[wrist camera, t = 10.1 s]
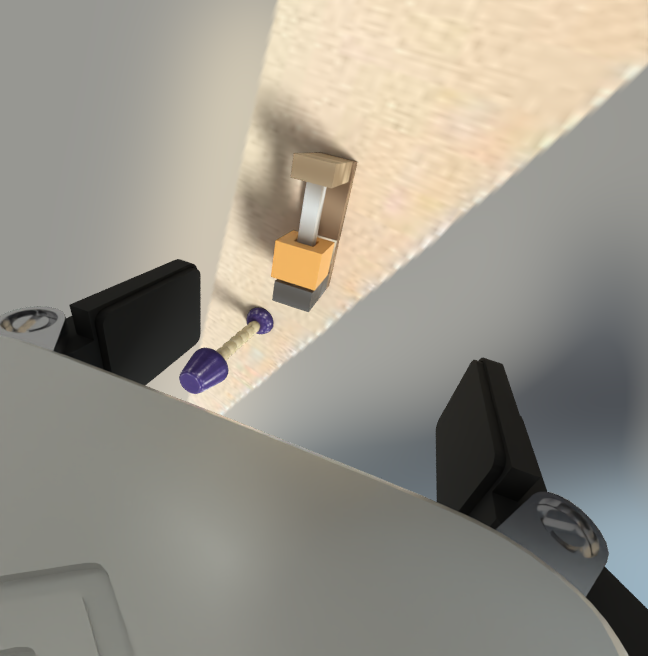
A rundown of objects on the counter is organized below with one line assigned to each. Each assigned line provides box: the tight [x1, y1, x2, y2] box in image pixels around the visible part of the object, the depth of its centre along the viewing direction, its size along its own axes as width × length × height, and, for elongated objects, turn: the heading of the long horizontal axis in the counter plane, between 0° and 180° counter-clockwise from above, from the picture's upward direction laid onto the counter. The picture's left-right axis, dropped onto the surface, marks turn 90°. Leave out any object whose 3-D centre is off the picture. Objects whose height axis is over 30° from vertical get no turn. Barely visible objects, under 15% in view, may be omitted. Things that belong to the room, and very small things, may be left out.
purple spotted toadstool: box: [179, 308, 273, 394], centre depth 42 cm, size 5×5×17 cm
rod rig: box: [272, 152, 357, 312], centre depth 36 cm, size 15×4×8 cm, turn 168°
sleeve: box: [271, 230, 335, 291], centre depth 35 cm, size 4×5×5 cm
